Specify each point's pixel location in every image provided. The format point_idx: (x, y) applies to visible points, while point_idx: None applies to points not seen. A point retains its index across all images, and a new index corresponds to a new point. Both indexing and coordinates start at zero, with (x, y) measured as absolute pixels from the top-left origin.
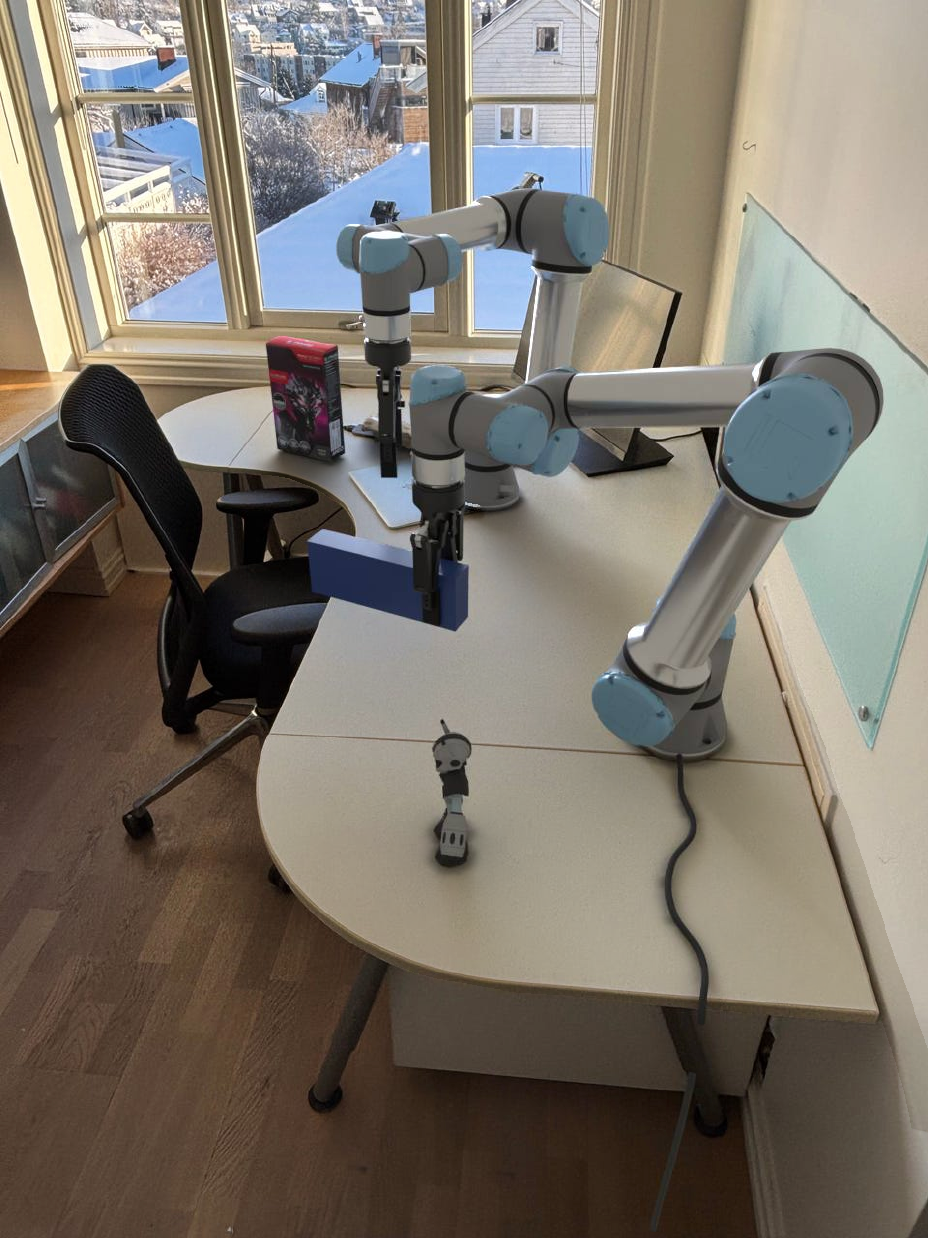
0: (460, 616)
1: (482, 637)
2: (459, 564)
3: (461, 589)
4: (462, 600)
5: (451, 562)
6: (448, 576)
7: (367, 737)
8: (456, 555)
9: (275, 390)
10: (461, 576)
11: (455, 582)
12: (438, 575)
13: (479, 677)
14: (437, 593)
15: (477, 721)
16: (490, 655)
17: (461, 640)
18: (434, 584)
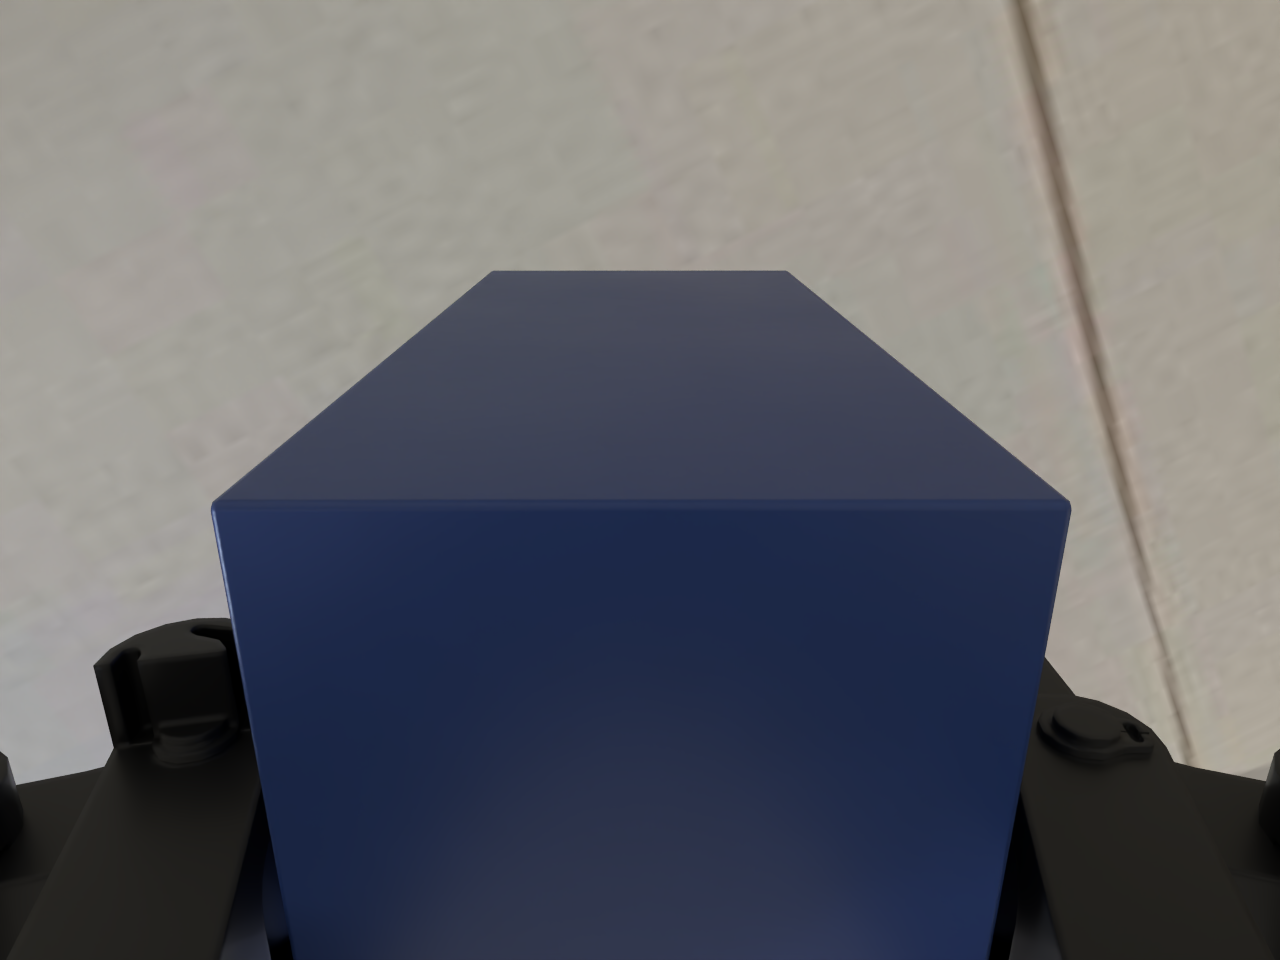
0: (680, 287)
1: (119, 333)
2: (333, 716)
3: (669, 369)
4: (627, 322)
5: (357, 899)
6: (1010, 708)
7: (1116, 475)
8: (41, 941)
9: None
10: (686, 461)
11: (1025, 467)
12: (1060, 907)
13: (455, 186)
14: None
15: (817, 17)
16: (240, 217)
17: (214, 424)
18: (1190, 812)
